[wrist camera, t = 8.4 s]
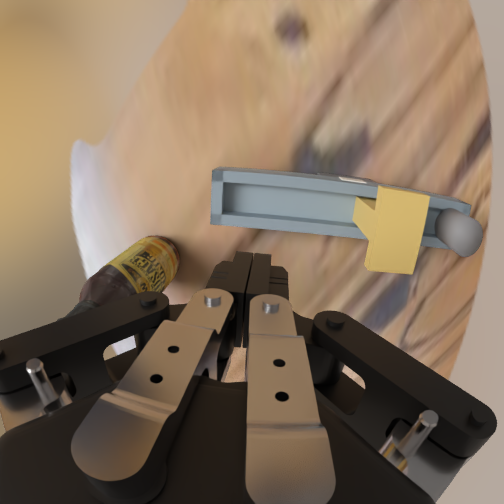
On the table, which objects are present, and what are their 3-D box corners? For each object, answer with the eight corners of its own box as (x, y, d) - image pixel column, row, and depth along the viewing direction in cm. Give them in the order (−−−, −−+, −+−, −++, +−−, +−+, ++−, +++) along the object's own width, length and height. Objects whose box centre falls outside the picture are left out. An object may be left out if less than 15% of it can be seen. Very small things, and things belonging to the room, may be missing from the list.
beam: (222, 209, 34) (199, 239, 24) (224, 163, 32) (201, 174, 22) (435, 232, 33) (479, 266, 23) (443, 191, 31) (493, 214, 21)
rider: (349, 239, 29) (368, 270, 22) (358, 175, 27) (383, 188, 20) (385, 243, 29) (412, 274, 22) (397, 181, 26) (430, 196, 20)
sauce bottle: (189, 272, 37) (121, 386, 19) (148, 283, 38) (68, 387, 20) (169, 223, 35) (73, 311, 17) (128, 238, 36) (25, 323, 18)
